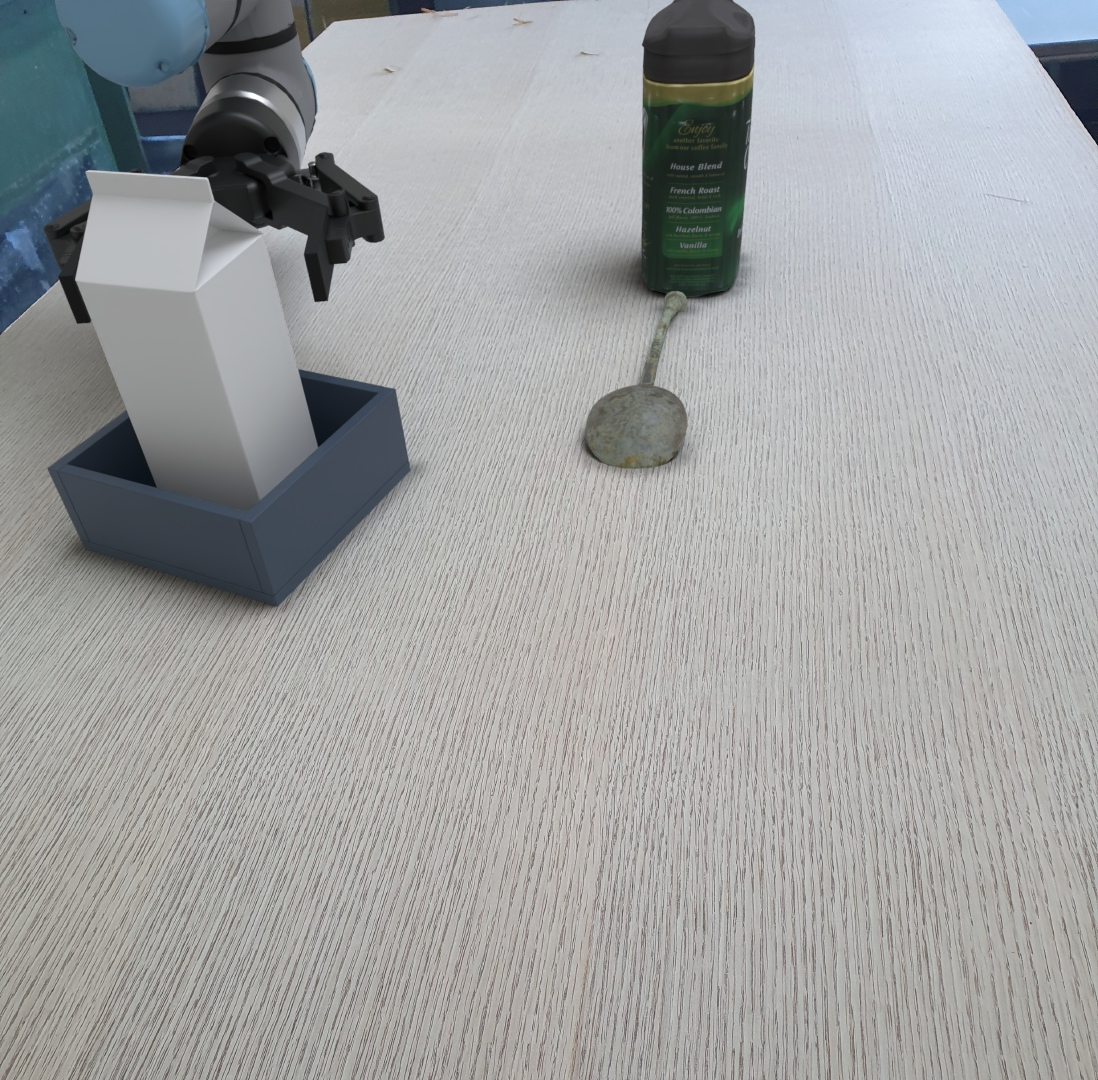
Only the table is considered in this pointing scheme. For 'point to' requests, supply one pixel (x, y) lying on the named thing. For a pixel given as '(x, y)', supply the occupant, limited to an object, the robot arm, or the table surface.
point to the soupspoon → (640, 412)
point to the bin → (230, 534)
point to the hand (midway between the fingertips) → (194, 289)
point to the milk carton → (194, 337)
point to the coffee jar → (695, 144)
